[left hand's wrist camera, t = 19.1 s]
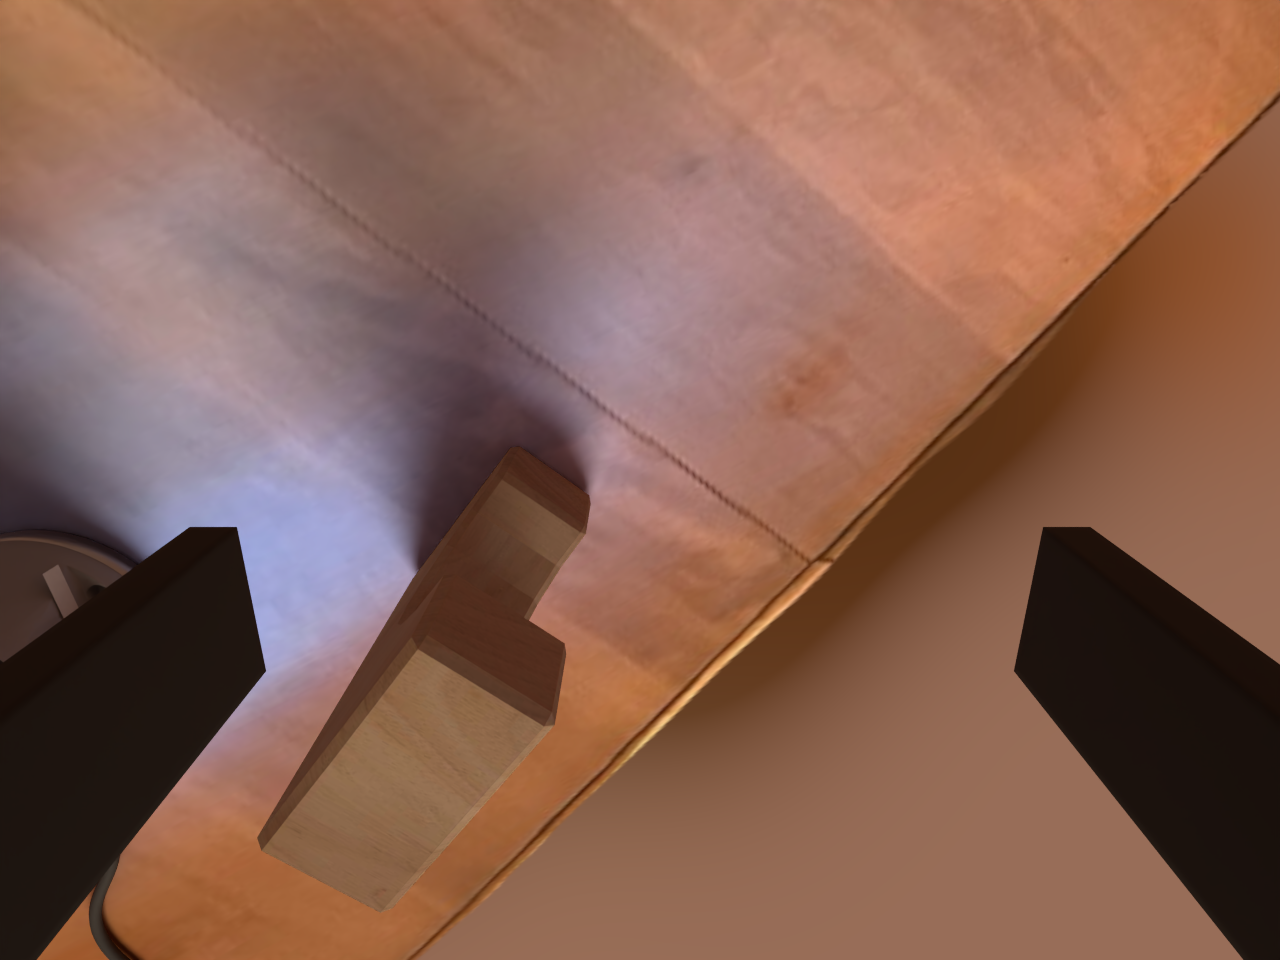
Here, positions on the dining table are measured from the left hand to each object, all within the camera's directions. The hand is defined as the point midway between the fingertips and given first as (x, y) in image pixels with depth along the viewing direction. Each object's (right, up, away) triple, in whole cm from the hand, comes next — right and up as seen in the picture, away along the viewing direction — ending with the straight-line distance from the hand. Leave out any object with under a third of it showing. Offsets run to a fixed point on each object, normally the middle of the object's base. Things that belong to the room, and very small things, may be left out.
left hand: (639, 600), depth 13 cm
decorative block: (-8, -1, +32) cm, 33 cm away
